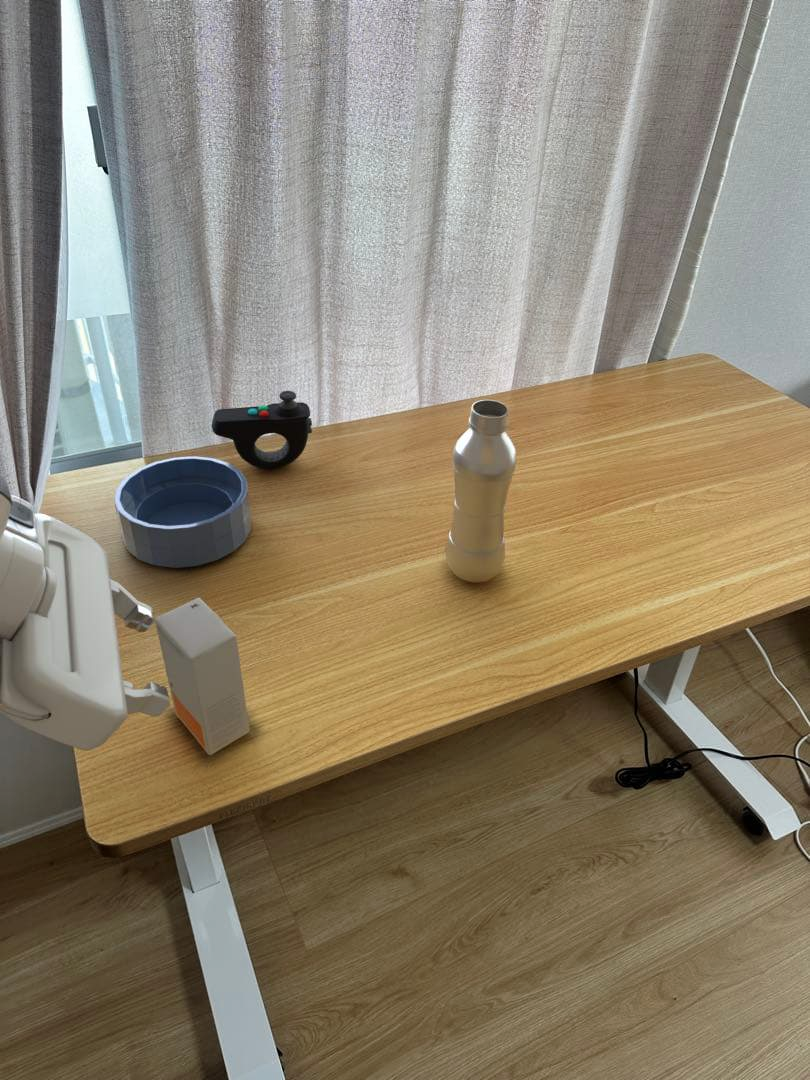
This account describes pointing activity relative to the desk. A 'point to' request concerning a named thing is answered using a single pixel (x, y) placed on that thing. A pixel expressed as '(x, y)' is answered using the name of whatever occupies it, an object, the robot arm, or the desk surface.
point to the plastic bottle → (481, 493)
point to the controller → (266, 430)
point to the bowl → (183, 511)
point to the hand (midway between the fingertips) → (156, 660)
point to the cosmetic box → (204, 674)
